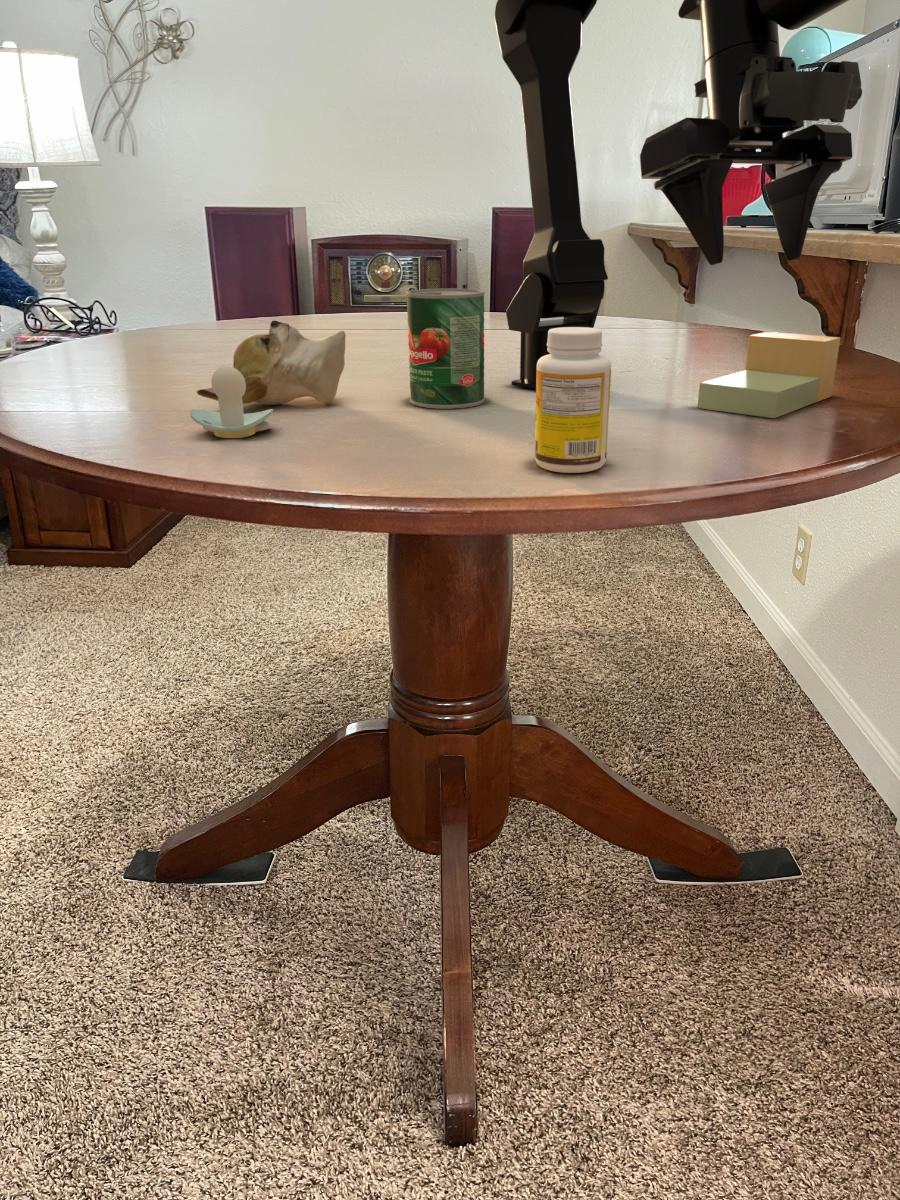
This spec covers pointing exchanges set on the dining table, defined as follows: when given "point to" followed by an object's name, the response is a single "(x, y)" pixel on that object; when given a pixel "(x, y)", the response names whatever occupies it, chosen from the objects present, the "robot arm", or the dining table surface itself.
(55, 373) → the dining table surface
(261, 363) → the ceramic sculpture
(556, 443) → the supplement bottle
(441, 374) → the canned tomato
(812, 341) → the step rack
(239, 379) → the pacifier
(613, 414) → the dining table surface
